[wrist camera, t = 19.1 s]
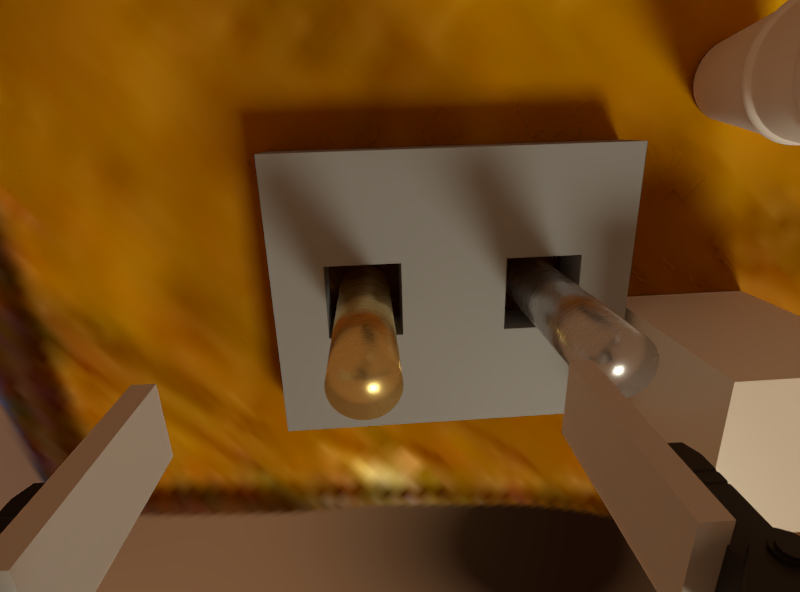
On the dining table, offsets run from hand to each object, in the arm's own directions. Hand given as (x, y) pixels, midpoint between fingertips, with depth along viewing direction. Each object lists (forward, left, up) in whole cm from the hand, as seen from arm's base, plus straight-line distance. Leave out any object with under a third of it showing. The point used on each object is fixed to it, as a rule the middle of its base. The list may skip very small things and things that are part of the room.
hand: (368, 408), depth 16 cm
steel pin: (0, +10, -15) cm, 18 cm away
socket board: (0, +5, -15) cm, 16 cm away
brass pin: (+1, 0, -15) cm, 15 cm away
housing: (+6, +20, -15) cm, 25 cm away
